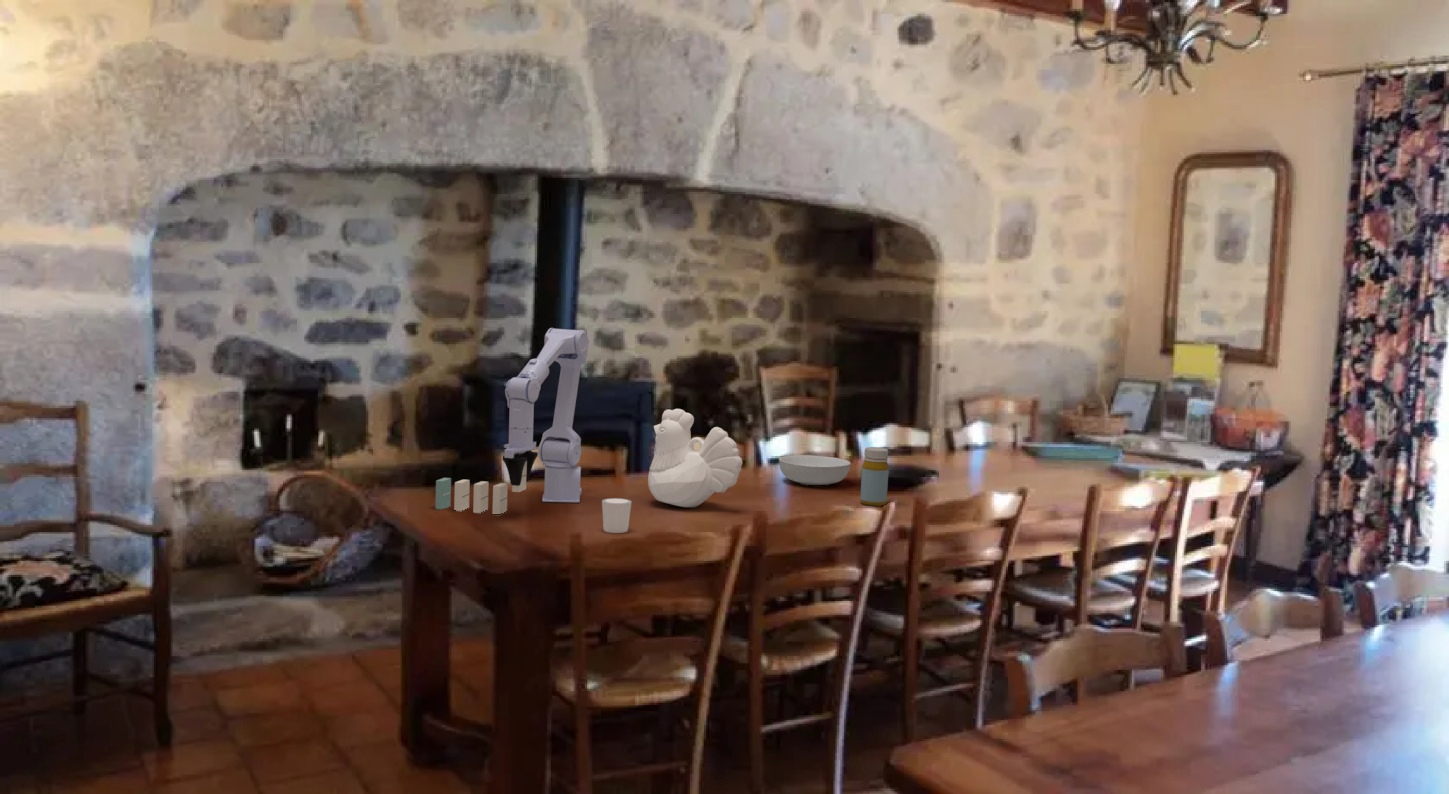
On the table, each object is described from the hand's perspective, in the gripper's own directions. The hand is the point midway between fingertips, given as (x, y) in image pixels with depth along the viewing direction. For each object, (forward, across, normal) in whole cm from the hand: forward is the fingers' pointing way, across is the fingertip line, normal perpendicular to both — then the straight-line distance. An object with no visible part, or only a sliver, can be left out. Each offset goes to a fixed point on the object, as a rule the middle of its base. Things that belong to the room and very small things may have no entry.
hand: (519, 483), depth 287 cm
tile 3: (+8, 0, -10) cm, 13 cm away
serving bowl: (+8, -75, +60) cm, 96 cm away
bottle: (+8, -52, +80) cm, 96 cm away
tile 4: (+8, 0, -5) cm, 9 cm away
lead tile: (+2, 0, 0) cm, 2 cm away
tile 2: (+8, 0, -15) cm, 17 cm away
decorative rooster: (+8, -27, +36) cm, 46 cm away
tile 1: (+8, 0, -20) cm, 21 cm away
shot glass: (+8, +5, +26) cm, 28 cm away
